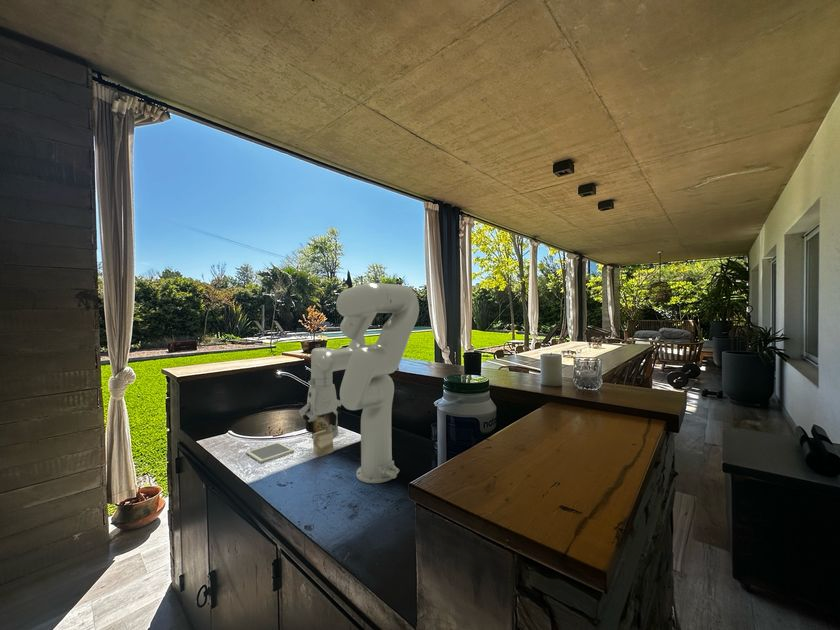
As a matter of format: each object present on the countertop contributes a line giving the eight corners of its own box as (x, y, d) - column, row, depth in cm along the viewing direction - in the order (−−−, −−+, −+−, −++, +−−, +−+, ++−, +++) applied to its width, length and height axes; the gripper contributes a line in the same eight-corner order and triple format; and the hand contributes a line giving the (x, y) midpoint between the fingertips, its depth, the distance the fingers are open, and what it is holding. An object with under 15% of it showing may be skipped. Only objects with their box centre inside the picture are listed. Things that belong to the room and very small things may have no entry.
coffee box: (338, 433, 144) (337, 395, 144) (333, 438, 138) (332, 399, 138) (317, 432, 145) (317, 394, 145) (311, 438, 139) (310, 398, 139)
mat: (294, 452, 125) (294, 449, 125) (261, 463, 116) (260, 460, 116) (278, 444, 133) (278, 441, 133) (246, 454, 123) (246, 451, 123)
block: (333, 451, 125) (332, 432, 125) (321, 456, 121) (320, 436, 121) (325, 448, 128) (325, 429, 128) (313, 452, 124) (313, 433, 124)
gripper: (305, 387, 116) (305, 437, 116) (347, 379, 129) (347, 424, 129) (294, 384, 121) (294, 432, 121) (335, 376, 134) (335, 420, 134)
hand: (321, 428), depth 125 cm, fingers open, 9 cm apart
